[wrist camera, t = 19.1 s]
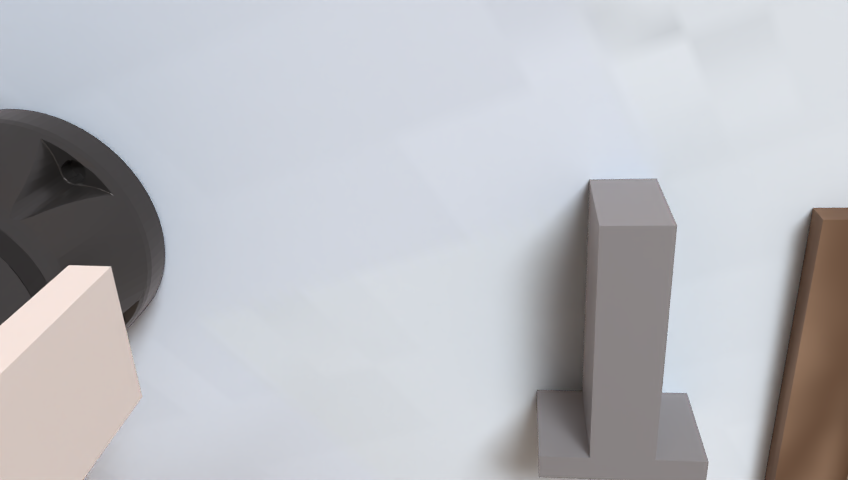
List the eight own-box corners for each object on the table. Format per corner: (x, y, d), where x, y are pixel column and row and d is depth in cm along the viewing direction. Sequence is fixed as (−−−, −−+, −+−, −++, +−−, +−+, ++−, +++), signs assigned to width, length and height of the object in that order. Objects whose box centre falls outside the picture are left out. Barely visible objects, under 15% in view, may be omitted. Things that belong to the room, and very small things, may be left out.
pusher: (537, 409, 48) (538, 477, 42) (537, 180, 41) (539, 226, 36) (684, 412, 46) (705, 483, 41) (710, 177, 40) (739, 225, 34)
